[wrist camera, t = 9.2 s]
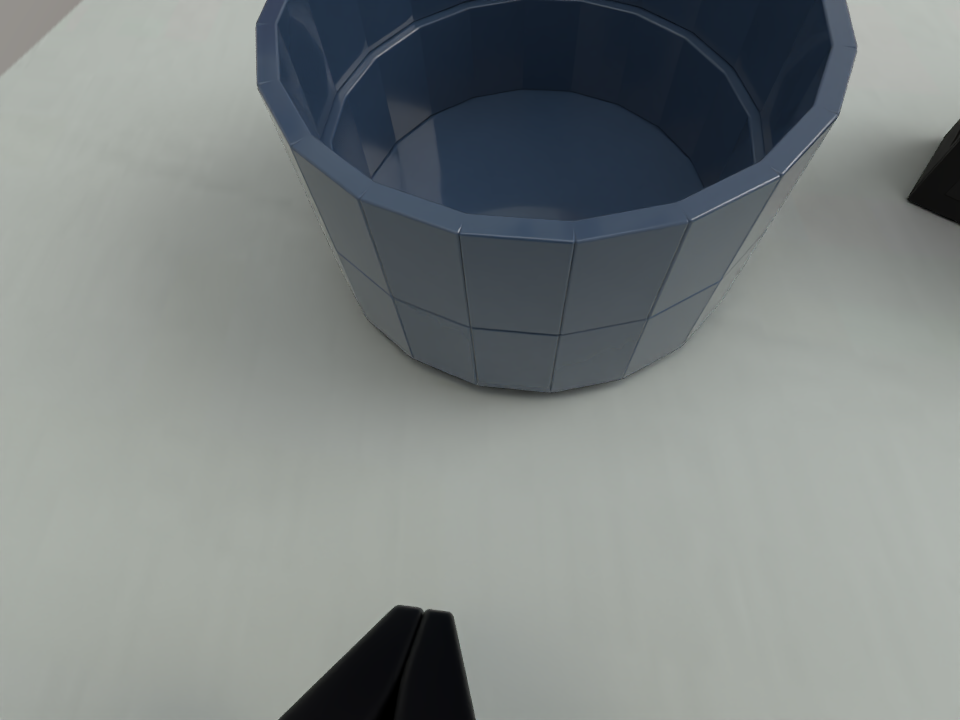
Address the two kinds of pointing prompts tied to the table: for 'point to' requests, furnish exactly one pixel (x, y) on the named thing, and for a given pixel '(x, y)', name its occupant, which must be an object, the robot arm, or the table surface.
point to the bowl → (548, 164)
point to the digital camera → (942, 179)
